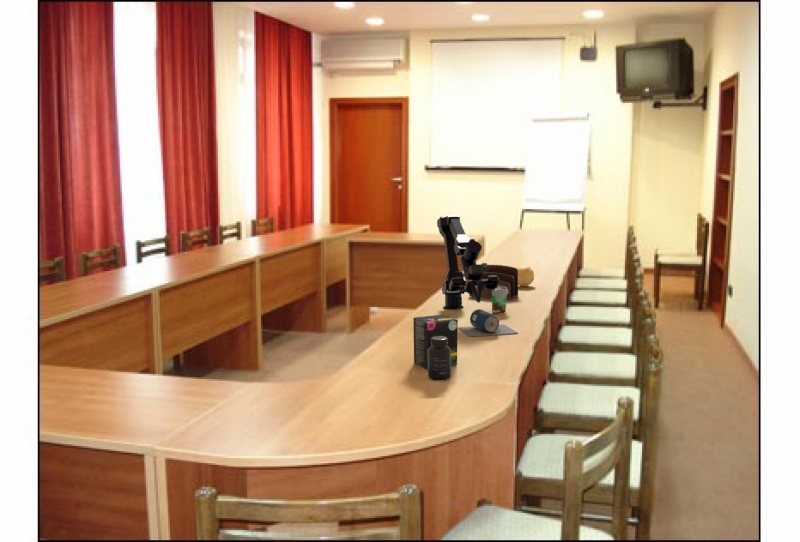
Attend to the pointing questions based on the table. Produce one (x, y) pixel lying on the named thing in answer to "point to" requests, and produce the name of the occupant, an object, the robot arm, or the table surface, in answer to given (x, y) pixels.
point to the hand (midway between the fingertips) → (479, 301)
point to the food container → (499, 299)
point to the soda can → (484, 321)
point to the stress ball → (525, 276)
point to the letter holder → (502, 280)
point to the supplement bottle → (439, 359)
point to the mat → (477, 332)
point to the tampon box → (434, 327)
